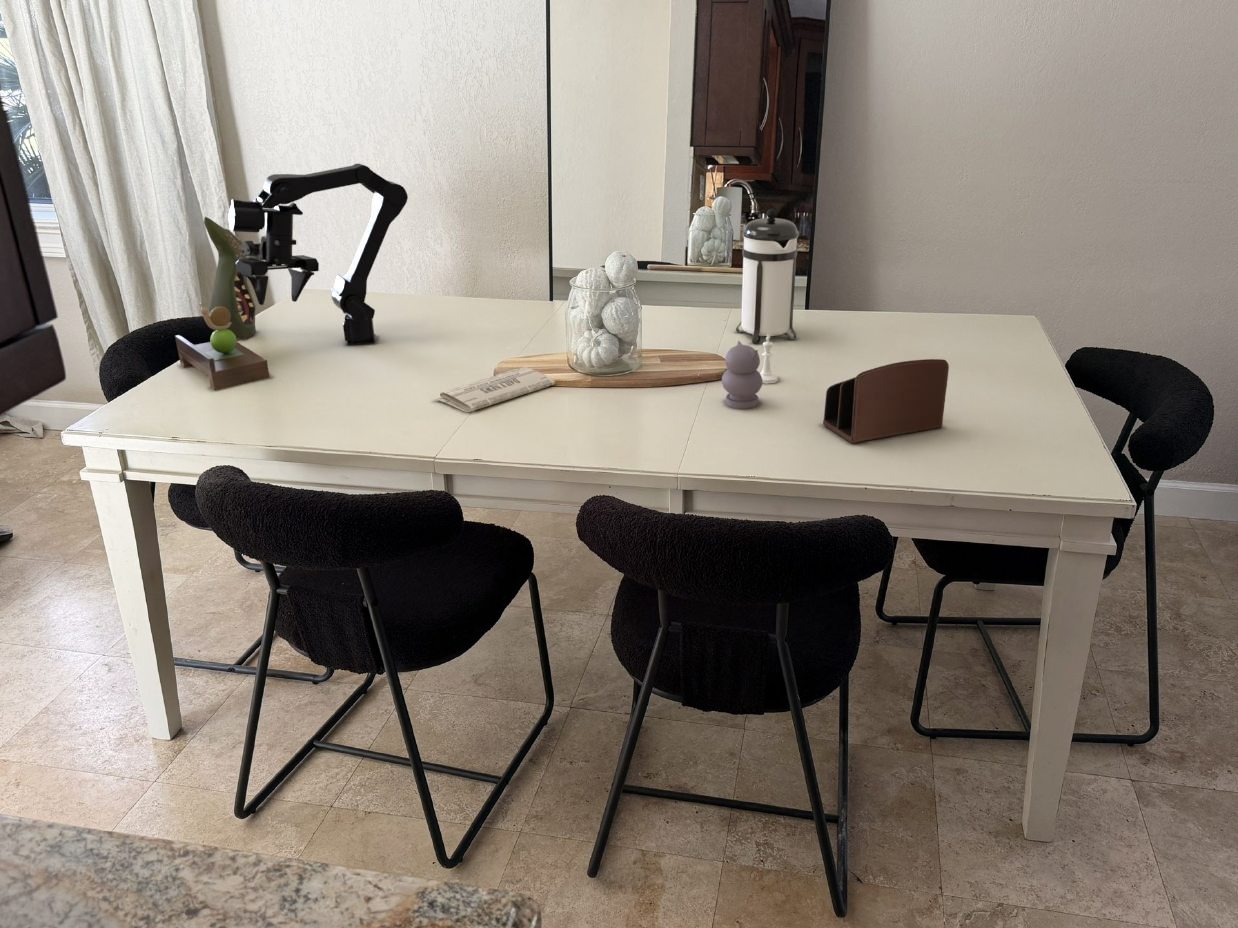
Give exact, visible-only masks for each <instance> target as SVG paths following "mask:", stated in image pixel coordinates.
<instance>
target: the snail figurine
mask: <svg viewBox="0 0 1238 928" xmlns="http://www.w3.org/2000/svg"><path fill="white" fill-rule="evenodd" d="M198 305H199V306H200V313H201V314H202V317H203V319H204V321H205V324H206V325H207V326H208V328H209V329H211V330H213V332H212V333H211V335H210V339H209V342H210V343H211V346H212V347H213V349H214V350H216V351H217V352H219V353H229V352H231V351H232V350H233V349H234V348H235V347H236V343H237V342H238V341H237V340H238V339H236V336H235V335H234V333H233V332H232V331H230V330H228V329H227V328H228V327H229V326H230V325H231V322H229V321H230V318H231V315H230V312H229V310H228V309H227V308H225V307H222V306H219V307H216V308H214V309H213V310H212V311H211V313H210V312H209V310H208V308H206V307H203V305H204V304H203V302H199V303H198Z"/></svg>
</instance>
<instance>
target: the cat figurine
mask: <svg viewBox="0 0 1238 928" xmlns="http://www.w3.org/2000/svg"><path fill="white" fill-rule="evenodd" d="M724 361H725V365H726V367H727V369H726V370H725V371H724V373H723V374H722V377H721V384H722V387H723V389H724V390H725V391H726V392H727V394H726V395H725V404H726V406H728V407H730V408H733V409H738V410H739V409H740V410H748V409H753V408H755V407H757V406H758V405H759V395H757V394H758V393H759V391H760V390H761V389H762V387H763V384H764V383H763V381H762V377H761V375H760V373H761V372H759V370H758V368H759V366H760V365H761V364H760V363H761V359H760V354H759V352H758V349H755V348H754V347H752V346H750V345H746V344H743V343H741V341H740V340H737V343H736V345H735V346H732V347H731V348H730V349H729V350H728V351H727V352H726V355H725V359H724Z"/></svg>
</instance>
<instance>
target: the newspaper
mask: <svg viewBox="0 0 1238 928" xmlns="http://www.w3.org/2000/svg"><path fill="white" fill-rule="evenodd" d="M555 385H556V381H555V380H554V379H553V378H551V377H549V376H547V375H545V374H544V373H541V372H540V371H537V370H534V369H532V368H530V367H527V366H524V367H520V368H513V369H511V370H507V371H505V372H502V373H498V374H496V375H493V376H490V377H488V378H484V379H481V380H478V381H475V382H472V383H468V384H466V385H465V384H464V385H461V386H459V387H455V388H452V389H449V390H446V391H442V392H441V393H439V397H441V398H439V399H436V400H435V401H436V402H437V401H440V402H443V403H446V404H448V405H450V406H452V407H454V408H456V409H457V410H460V411H463V412H465V413H471V412H473V411H477V410H480V409H483V408H486V407H490V406H493V405H496V404H498V403H499V404H500V403H502V402H505V401H508V400H511V399H515V398H517V397H521V396H524V395H527V394H530V393H533V392H536V391H539V390H542V389H545V388H549V387H552V386H555Z"/></svg>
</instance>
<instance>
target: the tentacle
mask: <svg viewBox="0 0 1238 928" xmlns="http://www.w3.org/2000/svg"><path fill="white" fill-rule="evenodd" d="M203 224H204V227H205V229H206V231H207V233H208V236H209V239H210V240H211V242H212V244H213V245H214V247H215V249H216V251H217V253H218V255H217V256H218V260H217V261H218V262H217V265H216V266H217V267H216V271H215V277H214V282H213V287H212V294H211V297H210V305H209V310H208V312H209V314H210V313H211V311H212V310H213V309H214V308H216V307H219V306H222V307H225V308H227V309H228V310H229V312H230V315H231V318H230V321H229V322H231V325H230V326H229V327H228V328H227V329H228V330H230V331H232V332H233V333H234V335H235V336H236V339H237V340H245V339H248V338H250V337H252V336H254V335H255V333H256V332H257V328H256V303H255V301H254V298H253V295H252V292H251V290H250V287H249V284H248V280H247V279H248V278H247V277H246V276H244V275H242V274H241V272H238V271H236V263H237V261H238V260H239V259H241V258H247V256H244V255H243V254H242V250H241V248H242V242H243V241H241V240H240V239H239V238H238V236H236V235H235V234H234V233H233V231H231V230H230V229H228V228H224V227H223V226H221V225H220V224H218V223H217V222H215V221H214V220H213V219H211V218H209V217H208V216H204V219H203Z"/></svg>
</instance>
